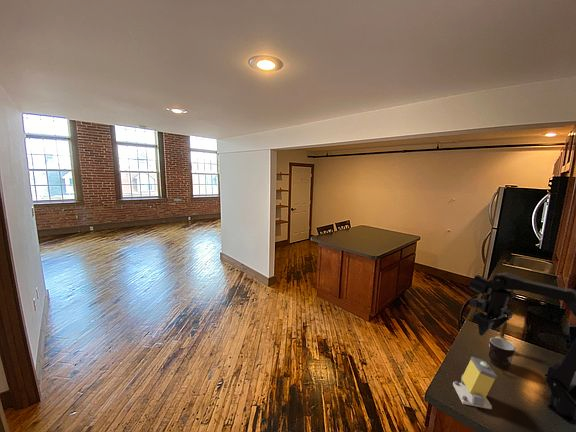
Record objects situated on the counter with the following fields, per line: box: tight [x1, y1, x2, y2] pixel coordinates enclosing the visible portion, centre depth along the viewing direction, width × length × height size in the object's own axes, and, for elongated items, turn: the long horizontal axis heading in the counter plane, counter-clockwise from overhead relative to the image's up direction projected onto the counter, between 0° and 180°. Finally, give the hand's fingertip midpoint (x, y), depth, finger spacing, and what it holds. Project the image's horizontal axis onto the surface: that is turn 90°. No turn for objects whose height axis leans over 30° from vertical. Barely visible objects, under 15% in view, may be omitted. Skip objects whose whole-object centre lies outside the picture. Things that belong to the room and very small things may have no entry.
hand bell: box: [488, 321, 508, 348], centre depth 119 cm, size 8×8×16 cm
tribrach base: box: [452, 374, 493, 410], centre depth 94 cm, size 9×11×4 cm
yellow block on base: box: [462, 356, 498, 399], centre depth 92 cm, size 5×8×13 cm, turn 166°
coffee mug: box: [488, 337, 516, 371], centre depth 110 cm, size 12×9×10 cm
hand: (486, 332), depth 108 cm, fingers open, 9 cm apart
